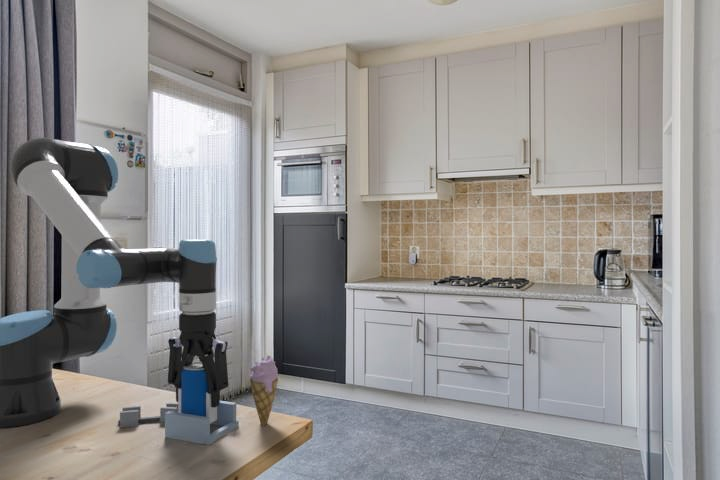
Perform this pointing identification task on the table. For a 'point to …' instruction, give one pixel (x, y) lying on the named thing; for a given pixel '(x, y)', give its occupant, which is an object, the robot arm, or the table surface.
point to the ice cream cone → (264, 386)
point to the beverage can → (194, 390)
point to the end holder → (201, 424)
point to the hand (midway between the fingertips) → (197, 419)
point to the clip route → (133, 417)
